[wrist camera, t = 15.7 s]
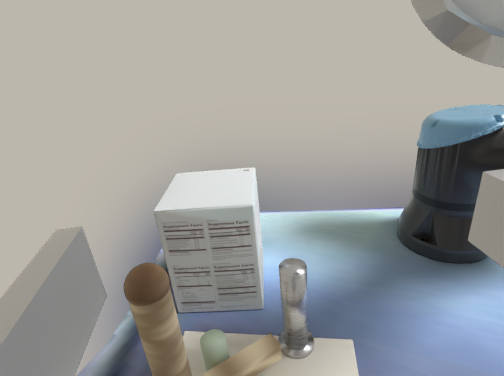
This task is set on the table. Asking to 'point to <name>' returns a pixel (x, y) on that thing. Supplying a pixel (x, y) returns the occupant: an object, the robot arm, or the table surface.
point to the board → (283, 356)
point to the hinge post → (294, 310)
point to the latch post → (214, 348)
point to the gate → (169, 333)
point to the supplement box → (213, 240)
